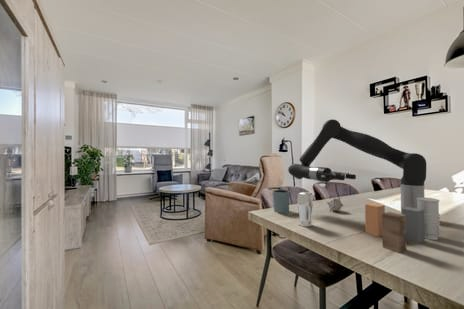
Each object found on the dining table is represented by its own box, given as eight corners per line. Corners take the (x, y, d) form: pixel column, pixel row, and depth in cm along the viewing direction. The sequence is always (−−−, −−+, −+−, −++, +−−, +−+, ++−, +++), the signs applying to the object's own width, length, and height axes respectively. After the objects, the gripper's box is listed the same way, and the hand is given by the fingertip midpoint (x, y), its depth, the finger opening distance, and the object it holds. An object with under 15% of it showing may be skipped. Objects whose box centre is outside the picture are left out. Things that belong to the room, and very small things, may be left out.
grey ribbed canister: (412, 233, 88) (411, 197, 88) (429, 233, 87) (428, 197, 87) (426, 240, 81) (426, 201, 81) (445, 240, 81) (444, 201, 81)
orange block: (372, 230, 91) (372, 202, 91) (385, 234, 87) (384, 205, 87) (365, 232, 89) (365, 204, 89) (378, 236, 85) (377, 206, 85)
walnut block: (390, 244, 78) (389, 211, 78) (406, 249, 73) (405, 215, 73) (382, 247, 75) (382, 213, 75) (398, 252, 71) (398, 217, 71)
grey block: (408, 236, 84) (408, 206, 84) (424, 241, 80) (424, 209, 80) (402, 239, 82) (401, 208, 82) (418, 244, 77) (417, 211, 77)
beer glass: (295, 222, 103) (294, 192, 103) (309, 222, 104) (308, 191, 104) (301, 227, 96) (300, 194, 96) (315, 226, 97) (315, 194, 97)
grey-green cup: (272, 213, 120) (272, 192, 120) (272, 208, 130) (272, 189, 130) (291, 213, 118) (291, 192, 118) (289, 209, 128) (289, 189, 128)
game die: (337, 217, 124) (348, 203, 124) (336, 215, 117) (347, 200, 117) (324, 207, 129) (334, 194, 129) (321, 205, 123) (332, 191, 122)
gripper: (310, 167, 108) (340, 170, 94) (329, 166, 115) (359, 169, 101) (310, 182, 108) (340, 186, 94) (328, 180, 115) (358, 184, 101)
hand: (349, 177), depth 98 cm, fingers open, 8 cm apart
